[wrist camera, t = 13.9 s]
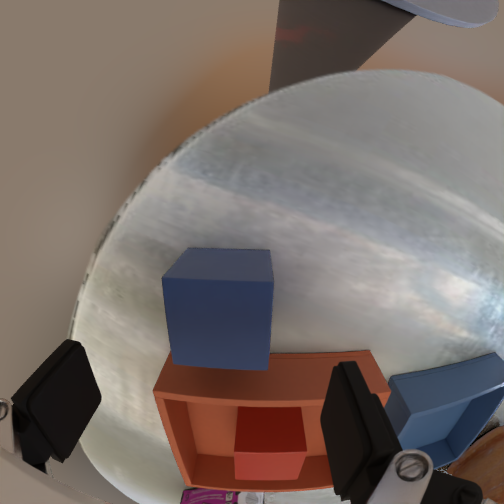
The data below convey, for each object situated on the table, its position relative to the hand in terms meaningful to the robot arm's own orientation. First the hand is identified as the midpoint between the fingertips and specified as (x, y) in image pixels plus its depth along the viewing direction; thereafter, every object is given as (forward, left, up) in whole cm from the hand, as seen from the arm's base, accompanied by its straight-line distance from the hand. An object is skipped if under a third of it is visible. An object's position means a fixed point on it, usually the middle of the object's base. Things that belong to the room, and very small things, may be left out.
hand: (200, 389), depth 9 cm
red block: (+12, +3, -8) cm, 14 cm away
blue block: (0, 0, -8) cm, 8 cm away
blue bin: (+15, +20, -8) cm, 26 cm away
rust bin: (+12, +3, -8) cm, 15 cm away
